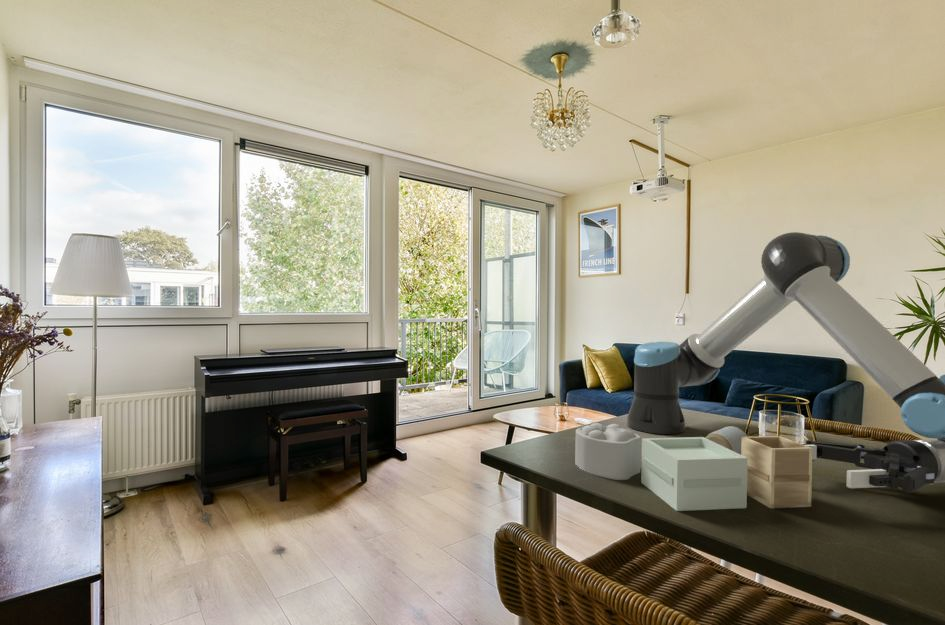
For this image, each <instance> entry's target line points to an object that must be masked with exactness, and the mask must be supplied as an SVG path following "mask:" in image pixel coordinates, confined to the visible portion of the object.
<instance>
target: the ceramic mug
mask: <svg viewBox="0 0 945 625" xmlns="http://www.w3.org/2000/svg"><path fill="white" fill-rule="evenodd" d="M742 437H749V436H748V435H747V433H746V432H744V431H743V430H742V429H740V428H739V427H736V426H732V425H729V426H724V427H723V428H720V429H718V430H715V431H712V432H710V433H709V434H707V436H705V437H704V438H706V439H708V440H711V441H713V442H715V443H717V444H719V445H721V446H723V447H725V448H728V449H730V450H732V451H734V452H736V453H738V454H740V455H741V443H742Z"/></svg>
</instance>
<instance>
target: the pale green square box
mask: <svg viewBox="0 0 945 625" xmlns="http://www.w3.org/2000/svg"><path fill="white" fill-rule="evenodd" d="M747 465H748V458H747V457H744V456H742V455H740V454H738V453H736V452H734V451H732V450H730V449H728V448H725V447H723V446H721V445H719V444H717V443H715V442H713V441H711V440H708V439H706V438H705V437H704V436H695V437H694V436H693V437H692V436H691V437H689V436H687V437H650V438H648V437H647V438H642V437H641V466H640V473H641V474H640V475H641V476H640V478H641V479H640V480H641V481H640V483H641V484H642V485H643V486H645V487H646V488H647V489H649V491H651V492H653V494H655V495H656V496H657V497H659V499H661V500H662V501H664V503H666V504H667V505H669V506H670V508H672V509H673V510H674V511H676V512H683V511H684V512H685V511H710V510H730V509H731V510H733V509H747V504H748V503H747V502H748V501H747V498H748V495H747Z"/></svg>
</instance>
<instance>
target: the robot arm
mask: <svg viewBox="0 0 945 625" xmlns="http://www.w3.org/2000/svg"><path fill="white" fill-rule="evenodd" d="M760 263H761V268H762V271H763V273H764V276H763V277H762V279H760V280H759V281H758V282H757V283H755V285H754V286H752V287H751V288H750V289H749V290H748V291H747V292H746V293H744V294H743V295H742V296H741V297H740V298H739V299H737V301H736V302H735V303H734V304H732V305H731V306H730V307H729V308H727V310H725V312H723V313H722V314H721V315H720V316H719V317H718V318H716V320H715V321H713V322H712V323H711V324H710V325H709V326H708V327H707V328H706V329H704V330H703V331H702V332H701V333H693V334H691V335H689V336H688V337H687V338H686V339H685V340H684V341H682V342H681V343H680V344H678V343H676V342H671V341H656V342H655V341H652V342H646V343H645V342H644V343H642V344H639V345H638V346H636V348H635V350H634V358H633V363H634V368H633V370H634V371H633V381H634V382H633V399H632V403H631V406H630V408H629V410H628V413H627V417H626V425H627V426H628V427H629V428H631V429H632V430H636V431H640V432H643V433H644V432H645V433H651V434H660V435H674V434H675V435H676V434H682V433H684V432H685V431H686V420H685V418H684V417H685V416H684V414H683V411H682V407H681V404H680V401H679V400H680V398H679V397H680V388H682V387H691V386H692V387H693V386H696V387H697V386H698V387H699V386H702V385H706V384H708V383H710V382H712V381H713V380H715V379H716V378H717V376H718V375H719V373H720V370H721V369H720V368H722V367H723V366H724V364H725V357H726V356H727V355H728V354H729V353H731V352H732V351H733V350H735V349H736V348H737V347H738V346H740V345H741V344H742V343H743V342H744V341H745V340H747V339H748V338H749V337H750V336H752V335H753V334H755V332H757V331H758V330H759V329H760V328H762V327H763V326H764V325H766V324H767V323H768V322H769V321H771V319H773V318H774V317H776V315H778V314H780V313H781V312H782V311H783V310H785V308H786V307H788V306H789V305H791V304H792V303H793V302H797V303H798V304H799V305H800V306H801V307H802V308H803V309H804V310H805V312H807V314H809V316H811V317H812V319H814V321H816V323H817V324H818V325H819V326H820V327H821V328H822V329H823V330H825V332H826V333H827V334H828V335H829V336H830V337H831V338H832V339H833V340H834V341H835V342H836V343H837V344H838V345H839V346H840V347H841V348H842V349H843V350H844V352H846V353H847V354H848V355H849V357H850V358H852V359H853V360H854V362H855V363H856V364H857V365H859V366H860V368H862V370H863V371H864V372H865V373H866V374H867V375H868V376H869V377H870V378H871V379H872V380H873V381H874V382H875V383H876V384H877V385H878V386H879V387H880V389H881V390H883V391H884V393H886V394H887V395H888V397H890V398H891V399H892V400H893V402H894V403H895V404H896V405H897V406H898V407H899V408H900V414H901V416H900V417H901V419H902V421H903V423H904V425H905V426H906V427H907V428H908V429H909V430H910V431H911V432H914V433H915V435H919V436H921V437H924V438H928V439H914V440H913V439H911V440H893V441H890V442H887V444H886V445H884V446H883V448H877V447H874V448H868V447H866V445H864V444H860V443H859V444H848V443H838V442H837V443H836V442H829V441H828V442H825V441H817V440H816V441H814V440H806V441H805V444H804V445H805V446H807V447H810V448H813V450H812V462H814V461H815V460H817V459H823V460H827V461H828V460H830V461H835V462H844V463H847V464H848V463H849V464H854V465H855V466H856V468H857V467H858V468H865V469H849V470H848V469H847V470H846V486H845V487H846V488H848V489H868V488H886V487H888V488H891V489H896V490H897V489H898V488H901V489H902V491H903V492H905V493H907V494H912V493H913V494H914V493H915V492H916V491H918V490H919V489H921V488H922V487H924V486H925V485H928V484H929V485H933V486H934V485H936V484H937V483H945V374H942V375H940V376H939V377H938V376H937V374H935V373H934V372H933V371H932V370H931V369H930V368H929V367H927V365H925V363H923V362H922V360H920V359H919V358H918V357H917V356H916V355H915V354H914V353H913V352H911V351H910V350H909V348H907V347H906V346H905V345H904V344H903V343H902V342H901V341H900V339H898V338H896V336H895V335H893V333H891V331H889V329H887V328H886V327H885V326H884V325H883V324H882V323H881V322H880V321H879V320H877V318H875V317H874V316H873V314H871V313H870V312H869V311H868V310H867V309H866V308H865V307H864V306H862V305H861V303H860V302H859V301H857V300H856V299H855V298H854V297H853V296H852V295H851V294H850V293H849V292H847V290H846V289H844V288H843V287H842V286H841V285H840V284H839V282H840V281H842V280H843V279H844V278H845V276H846V275H847V274H848V271H849V269H850V267H851V266H850V265H851V264H850V263H851V256H850V253H849V251H848V249H847V247H846V246H845V245H844V244H843V243H842V242H840V241H838V240H836V239H834V238H832V237H829V236H827V235H821V234H820V235H815V234H809V233H805V232H799V231H798V232H797V231H794V232H793V231H792V232H787V233H782V234H780V235H778V236H776V237H774V238H773V239H772V240H771V241H769V242H768V244H767V245H766V246H765V247H764V249H763V252H762V254H761V259H760ZM862 459H863V462H861V460H862ZM887 473H888V474H887Z"/></svg>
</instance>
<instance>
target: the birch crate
mask: <svg viewBox="0 0 945 625" xmlns="http://www.w3.org/2000/svg"><path fill="white" fill-rule="evenodd" d="M805 445H806V444H802V443H799V442H796V441H794V440H792V439H791V440H790V439H788V438H786V437H784V436H783V437H782V436H780V435H774V436H773V435H769V436H767V435H766V436H765V435H764V436H763V435H761V436H748V437H742V443H741V455H742V456H744V457H747V458H748V465H747V497H750V498H752V499H753V500H756V501H757V502H759V503H760V504H762V505H764V506H766V507H767V508H769V509H786V508H787V509H788V508H809V507H812V486H813V480H812V479H813V461H812V450H813V448H810V447H807V446H805Z"/></svg>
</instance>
